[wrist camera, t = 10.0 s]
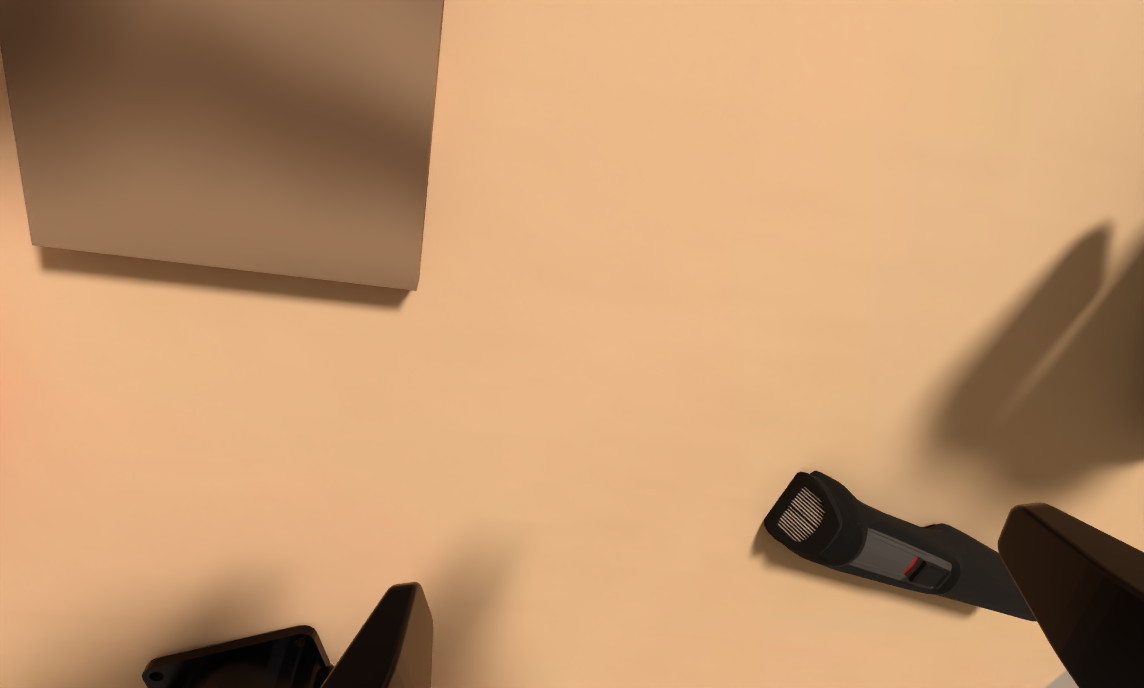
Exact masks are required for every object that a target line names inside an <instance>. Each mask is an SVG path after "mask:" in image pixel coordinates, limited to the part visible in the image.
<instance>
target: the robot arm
mask: <svg viewBox="0 0 1144 688" xmlns="http://www.w3.org/2000/svg"><path fill="white" fill-rule="evenodd" d="M998 550H999V554H1000V557H1001V559H1002V561H1003V562H1004V564H1005V566H1006V568H1007V569H1008V571H1009V573H1010V575H1011V576H1012V578H1013V580H1014V582H1015V583H1016V585H1017V587H1018V589H1019V590H1020V592H1021V594H1022V596H1023V597H1024V599H1025V601H1026V603H1027V604H1028V606H1029V608H1030V610H1031V611H1032V613H1033V615H1034V617H1035V618H1036V620H1037V622H1038V624H1039V625H1040V627H1041V629H1042V631H1043V632H1044V634H1045V636H1046V638H1047V639H1048V641H1049V643H1050V644H1051V646H1052V648H1053V649H1054V651H1055V653H1056V654H1057V656H1058V657H1059V659H1060V660H1061V662H1062V663H1063V665H1064V666H1065V668H1066V669H1067V671H1068V672H1069V674H1070V675H1071V677H1072V678H1073V680H1074V681H1075V683H1076V684H1077V685H1078V687H1079V688H1144V552H1142V551H1140V550H1138V549H1136V548H1134V547H1132V546H1130V545H1128V544H1126V543H1124V542H1122V541H1120V540H1118V539H1116V538H1114V537H1112V536H1110V535H1108V534H1106V533H1104V532H1102V531H1100V530H1098V529H1096V528H1094V527H1092V526H1090V525H1088V524H1086V523H1084V522H1082V521H1080V520H1078V519H1077V518H1075V517H1073V516H1071V515H1069V514H1067V513H1065V512H1063V511H1061V510H1059V509H1057V508H1055V507H1053V506H1050V505H1048V504H1045V503H1030V504H1022V505H1017V506H1015V507H1013V508H1012V509H1011V510H1010V512H1009V514H1008V517H1007V519H1006V522H1005V525H1004V527H1003V530H1002V532H1001V535H1000V537H999V540H998ZM301 638H303V639H301ZM432 644H433V620H432V615H431V612H430V609H429V606H428V603H427V601H426V598H425V595H424V592H423V589H422V587H421V585H420V584H419V583H417V582H410V583H402V584H396V585H393V586H391V587H390V588H389V589H388V590H387V592H386V593H385V595H384V596H383V597H382V599H381V600H380V602H379V603H378V605H377V606H376V608H375V609H374V611H373V612H372V613H371V615H370V616H369V618H368V619H367V621H366V622H365V624H364V625H363V626H362V628H361V629H360V631H359V632H358V634H357V635H356V637H355V638H354V639H353V641H352V642H351V644H350V645H349V647H348V648H347V650H346V651H345V653H344V654H343V655H342V657H341V658H340V660H339V661H338V663H337V664H336V666H335V667H334V666H333V665H331V663H330V661H329V659H328V657H327V654H326V652H325V650H324V647H323V645H322V643H321V641H320V638H319V636H318V634H317V632H316V630H315V629H314V628H312V627H310V626H298V627H294V628H289V629H285V630H280V631H276V632H272V633H267V634H263V635H258V636H254V637H250V638H245V639H241V640H236V641H232V642H228V643H223V644H219V645H214V646H210V647H206V648H201V649H197V650H192V651H188V652H184V653H179V654H175V655H170V656H166V657H162V658H157V659H154V660H152V661H150V662H149V663H148V665H147V666H146V668H145V670H144V672H143V674H142V678H143V680H144V682H145V684H146V685H147V687H148V688H430V687H431V666H432Z"/></svg>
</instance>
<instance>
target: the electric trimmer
mask: <svg viewBox="0 0 1144 688" xmlns="http://www.w3.org/2000/svg"><path fill="white" fill-rule="evenodd" d="M764 524H765V527H766V529H767V531H768V532H769V533H770V534H771V535H772V536H773V537H774V538H775V539H776V540H778V541H779V542H781V543H782V544H783V545H785V546H786V547H787V548H788V549H789V550H791V551H792V552H794V553H796V554H797V555H799V556H800V557H802V558H804V559H807V560H810V561H812V562H815V563H818V564H821V565H823V566H826V567H829V568H831V569H834V570H837V571H841V572H845V573H848V574H852V575H856V576H860V577H863V578H867V579H871V580H874V581H878V582H882V583H886V584H889V585H893V586H897V587H900V588H904V589H908V590H913V591H917V592H922V593H926V594H936V595H939V596H943V597H946V598H950V599H953V600H957V601H961V602H964V603H968V604H971V605H975V606H979V607H982V608H986V609H989V610H993V611H997V612H1000V613H1004V614H1007V615H1011V616H1014V617H1018V618H1022V619H1025V620H1030V621H1037V620H1036V618H1035V617H1034V615H1033V613H1032V611H1031V610H1030V608H1029V606H1028V604H1027V603H1026V601H1025V599H1024V597H1023V596H1022V594H1021V592H1020V590H1019V589H1018V587H1017V585H1016V583H1015V582H1014V580H1013V578H1012V576H1011V575H1010V573H1009V571H1008V569H1007V568H1006V566H1005V564H1004V562H1003V561H1002V559H1001V557H1000V554H999V553H998V552H996V551H994V550H992V549H991V548H989V547H987V546H986V545H984V544H982V543H980V542H979V541H977V540H975V539H974V538H972V537H970V536H968V535H967V534H965V533H963V532H961V531H959V530H957V529H955V528H953V527H951V526H949V525H946V524H938V525H935V526H932V527H929V528H926V529H925V528H922V527H919V526H916V525H914V524H911V523H909V522H906V521H904V520H901V519H898V518H896V517H893V516H891V515H888V514H885V513H883V512H881V511H879V510H876V509H874V508H872V507H870V506H868V505H866V504H864V503H862V502H861V501H859V500H857V499H856V498H855V497H854V496H853V495H852V494H851V492H850V491H849V490H848V489H847V488H846V487H845V486H843V485H842V484H841V483H839V482H838V481H836V480H834V479H832V478H831V477H829V476H827V475H825V474H823V473H821V472H818V471H814V472H812V473H810V474H808V473H804V472H799V473H797V474H796V475H795V477H794V478H793V480H792V481H791V482H790V484H789V485H788V487H787V488H786V489H785V491H784V492H783V494H782V495H781V496H780V498H779V499H778V500H777V502H776V503H775V505H774V506H773V507H772V509H771V510H770V512H769V513H768V514H767V516H766V517H765V519H764ZM926 555H927V556H926Z"/></svg>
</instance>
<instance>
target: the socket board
mask: <svg viewBox="0 0 1144 688" xmlns="http://www.w3.org/2000/svg"><path fill="white" fill-rule="evenodd" d="M443 8H444V0H0V46H1V52H2V58H3V65H4V71H5V77H6V84H7V90H8V96H9V103H10V109H11V115H12V122H13V128H14V134H15V140H16V147H17V153H18V159H19V166H20V172H21V178H22V185H23V191H24V197H25V204H26V210H27V216H28V223H29V229H30V235H31V242H32V245H35V246H43V247H51V248H60V249H68V250H77V251H85V252H94V253H102V254H110V255H119V256H127V257H136V258H144V259H153V260H161V261H169V262H178V263H186V264H195V265H203V266H212V267H220V268H228V269H237V270H245V271H254V272H262V273H271V274H279V275H287V276H296V277H304V278H313V279H321V280H330V281H338V282H346V283H355V284H363V285H372V286H380V287H389V288H397V289H405V290H414V291H417V286H418V282H419V275H420V263H421V252H422V241H423V230H424V219H425V208H426V197H427V186H428V175H429V163H430V152H431V141H432V130H433V119H434V108H435V97H436V86H437V74H438V63H439V52H440V41H441V30H442V19H443Z"/></svg>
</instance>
